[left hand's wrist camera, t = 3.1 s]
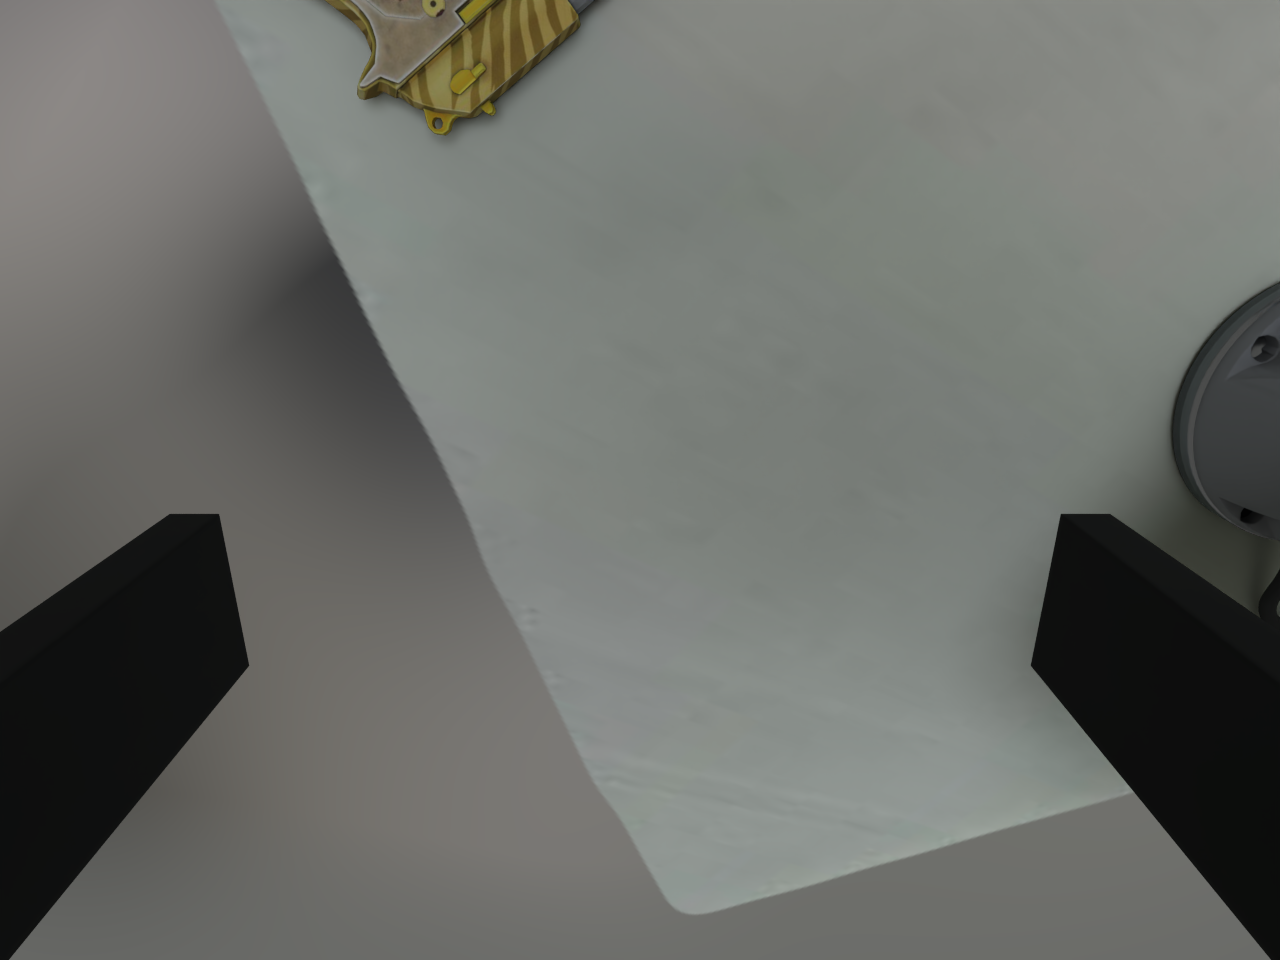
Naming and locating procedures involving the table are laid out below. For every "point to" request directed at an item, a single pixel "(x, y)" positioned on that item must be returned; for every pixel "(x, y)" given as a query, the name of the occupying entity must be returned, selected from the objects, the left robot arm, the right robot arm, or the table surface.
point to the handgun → (455, 49)
